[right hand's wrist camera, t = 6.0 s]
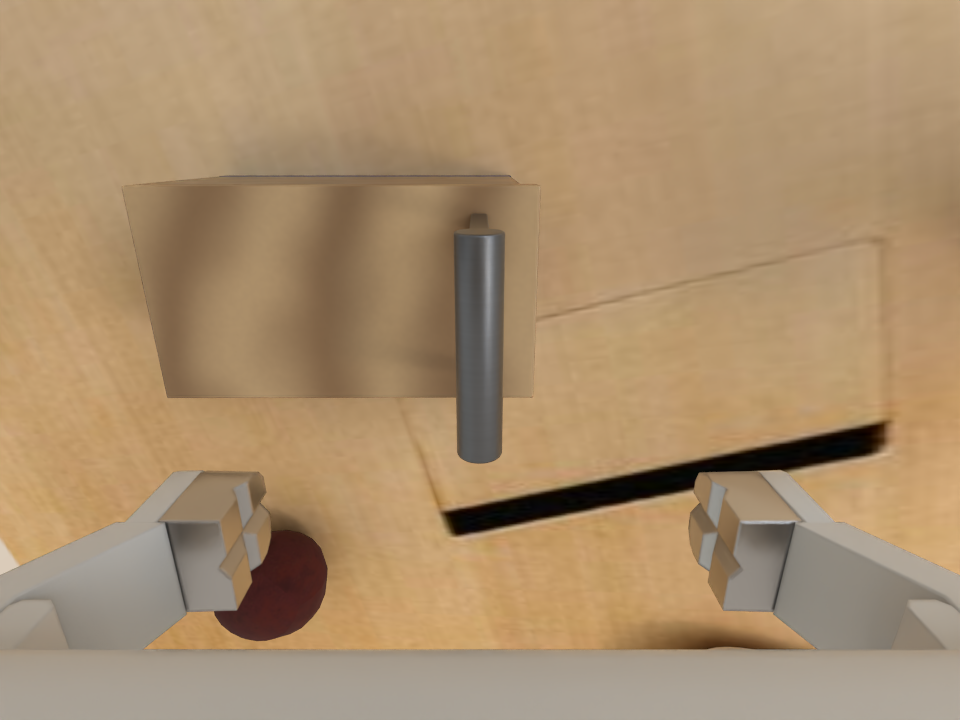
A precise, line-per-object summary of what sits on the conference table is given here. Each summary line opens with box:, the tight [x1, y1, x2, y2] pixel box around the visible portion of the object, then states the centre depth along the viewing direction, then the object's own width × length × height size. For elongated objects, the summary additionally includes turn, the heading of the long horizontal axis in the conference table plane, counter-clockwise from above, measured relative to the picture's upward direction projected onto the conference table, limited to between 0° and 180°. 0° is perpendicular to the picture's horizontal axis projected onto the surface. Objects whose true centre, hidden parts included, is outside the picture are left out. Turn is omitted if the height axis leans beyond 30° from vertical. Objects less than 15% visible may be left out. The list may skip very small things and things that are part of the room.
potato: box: [214, 530, 327, 641], centre depth 39 cm, size 7×8×7 cm
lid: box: [122, 184, 541, 463], centre depth 22 cm, size 18×10×9 cm, turn 90°
